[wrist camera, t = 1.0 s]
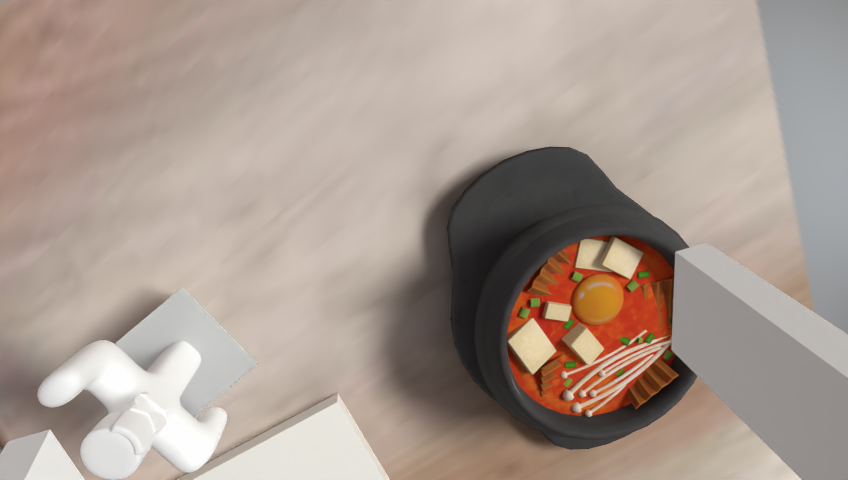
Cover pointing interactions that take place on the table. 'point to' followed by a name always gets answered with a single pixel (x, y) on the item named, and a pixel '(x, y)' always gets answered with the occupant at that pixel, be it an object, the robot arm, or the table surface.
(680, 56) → the table surface
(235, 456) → the board
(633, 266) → the casserole
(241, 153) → the table surface
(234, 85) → the table surface
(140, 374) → the figurine
